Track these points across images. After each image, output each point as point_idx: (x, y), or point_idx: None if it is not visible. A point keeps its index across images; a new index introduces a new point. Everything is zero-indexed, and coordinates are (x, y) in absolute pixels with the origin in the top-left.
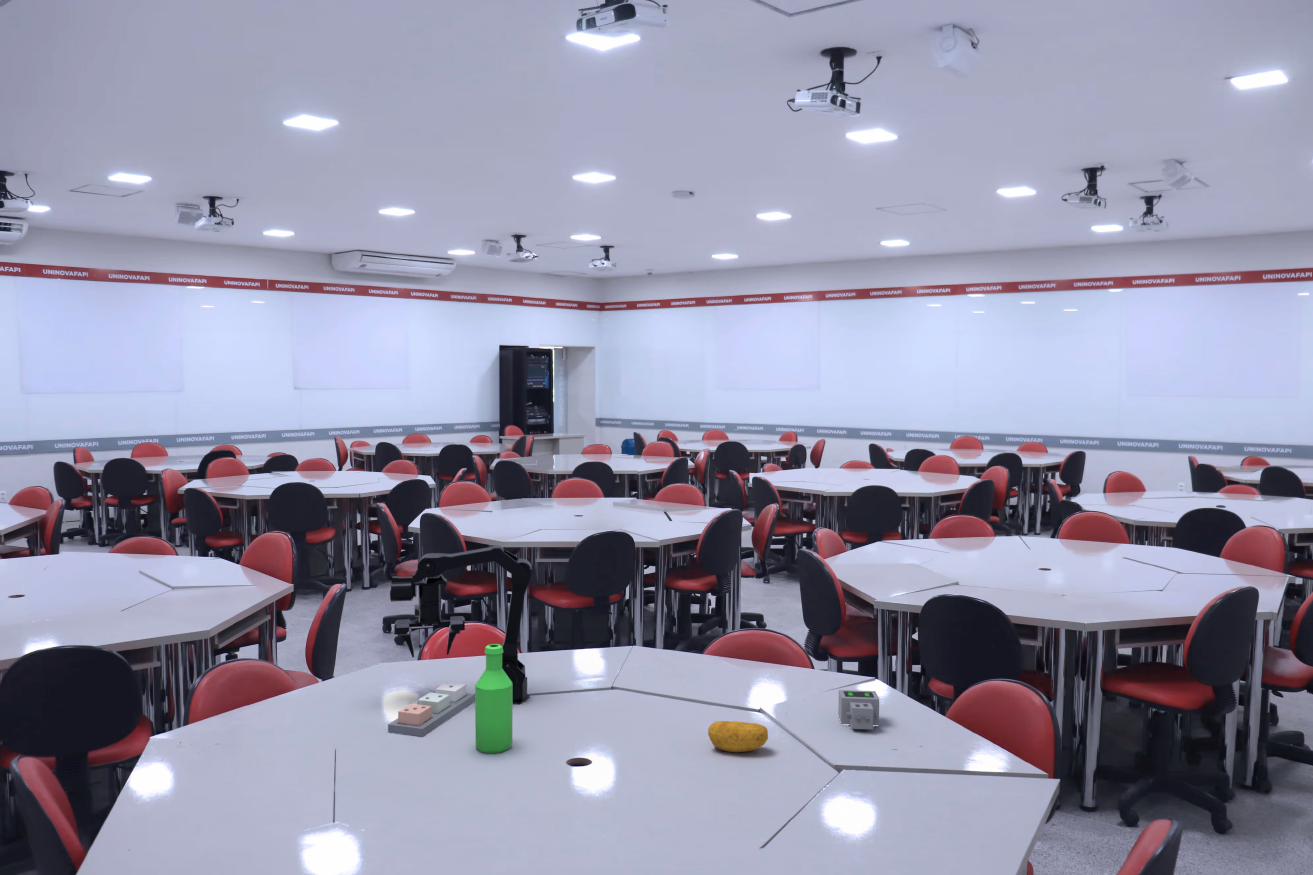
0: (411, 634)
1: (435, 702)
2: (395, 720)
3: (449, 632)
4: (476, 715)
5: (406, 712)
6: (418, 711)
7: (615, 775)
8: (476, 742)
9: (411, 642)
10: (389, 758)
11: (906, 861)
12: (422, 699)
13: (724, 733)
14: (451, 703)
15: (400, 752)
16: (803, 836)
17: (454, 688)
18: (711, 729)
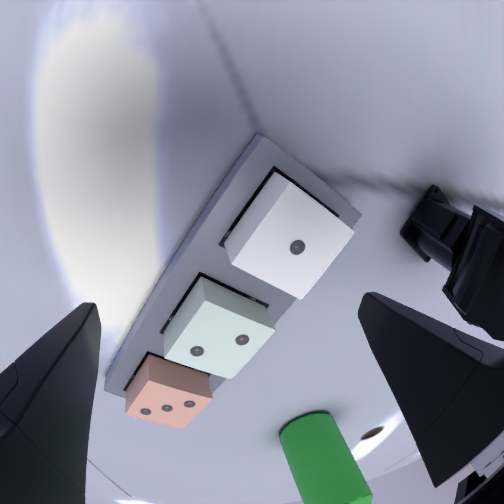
0: (11, 480)
1: (223, 375)
2: (114, 376)
3: (438, 485)
4: (295, 480)
5: (148, 420)
6: (179, 419)
7: (380, 443)
8: (281, 444)
9: (84, 483)
10: (144, 446)
11: (417, 459)
12: (180, 356)
13: None
14: (273, 287)
15: (156, 437)
16: (405, 459)
17: (305, 269)
18: None
